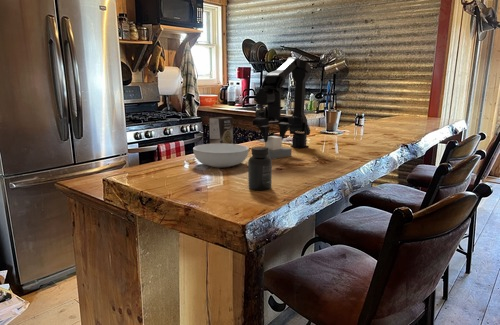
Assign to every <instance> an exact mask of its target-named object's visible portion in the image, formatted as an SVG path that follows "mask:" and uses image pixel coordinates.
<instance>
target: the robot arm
mask: <svg viewBox="0 0 500 325" xmlns="http://www.w3.org/2000/svg"><path fill="white" fill-rule="evenodd" d="M311 70H312V66H311V64H309V62H308V61H305V60H303V59H301V58H299V57H298V56H293V57H292V56H291V57H290V56H289V57H287V59H286V61H285V62H283V63H282V65H280V67H278V68H277V69H275V70H273V71H270V72H268V73H266V75H265V77H264V79H263V82H262V83H261V87H259V91H257V93H256V94H255V96H254V99H255V100H254V101H255V102H256V104H257V105H259V106H265V107H264V110H261V109H256V110H255V111H254V112H255V114H254V116H255V117H254V119H252V126H255V127H256V128H258V129H259V131H260V133H261V135H262V138H263V141H264V143H265V142H267V140H268V136H269V133H270V126H269V124H277V125H278V128H279V137H282V141H283V140H284V137H285V135H286V133H287V131H288V130H289V135H292V143H291V144H292V145H290V147H293V148H297V149H303V148H308V147H309V146H310V145H308V144H307V136H310V134H311V128H310V127H309V124H308V118H307V116H306V115H305V102H306V101H305V100H306V83H307V81H308V79H309V78H310V74H311ZM290 74H291V76H292V78H293V80H294V99H293V100H294V102H293V113H292V115H291V116H290V115H283V116H282V115H281V114H282V113H281V112H282V110H283V109H284V106H282V94H283V93H284V91H283V89H282V88H283V86H284V84H285V82H286V78H287V77H288V76H289V75H290Z"/></svg>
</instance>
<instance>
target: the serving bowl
mask: <svg viewBox="0 0 500 325" xmlns="http://www.w3.org/2000/svg"><path fill="white" fill-rule="evenodd" d="M192 150H193V155H194V157H195V159H196V160H197V161H198V162H199V163H201V164H202V165H205V166H209V167H212V168H222V169H223V168H231V167H233V166H237V165H239V164H241V163H243V162H244V161H246V159H247V158H248V155H249V150H250V148H249V147H248V146H247V145H242V144H238V143H233V144H226V143H216V144H210V143H206V144H205V143H203V144H198V145H196V146H194V147H193V148H192Z"/></svg>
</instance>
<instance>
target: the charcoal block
mask: <svg viewBox="0 0 500 325" xmlns="http://www.w3.org/2000/svg"><path fill="white" fill-rule="evenodd" d="M268 153H269V154H268V157H270V158H271V160H275V158H276V159H280V158H281V157H282V158H286V156H288V157H291V156H292V154H293V153H292V148H290V147H289V148H288V147H284V146H282V149H277V150H270V149H268Z"/></svg>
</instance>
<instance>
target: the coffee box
mask: <svg viewBox="0 0 500 325" xmlns="http://www.w3.org/2000/svg"><path fill="white" fill-rule="evenodd" d="M233 127H234V120H233V117H232V116H217V117H210V118H209V144H216V143H226V144H234V128H233Z"/></svg>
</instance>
